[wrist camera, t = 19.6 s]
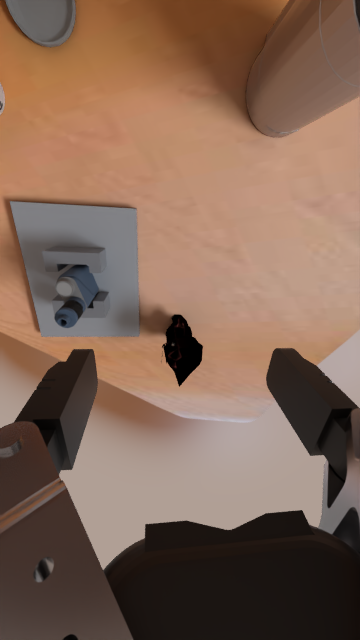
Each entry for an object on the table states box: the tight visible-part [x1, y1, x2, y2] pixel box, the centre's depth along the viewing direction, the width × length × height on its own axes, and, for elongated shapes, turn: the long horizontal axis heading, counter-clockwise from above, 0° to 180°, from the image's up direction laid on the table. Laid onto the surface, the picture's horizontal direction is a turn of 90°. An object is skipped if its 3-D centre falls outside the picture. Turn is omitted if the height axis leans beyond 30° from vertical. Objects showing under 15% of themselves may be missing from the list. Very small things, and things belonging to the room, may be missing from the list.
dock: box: [10, 201, 140, 337], centre depth 34 cm, size 20×16×5 cm
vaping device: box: [54, 264, 99, 328], centre depth 30 cm, size 3×5×12 cm, turn 14°
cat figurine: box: [161, 315, 203, 387], centre depth 36 cm, size 7×7×12 cm
